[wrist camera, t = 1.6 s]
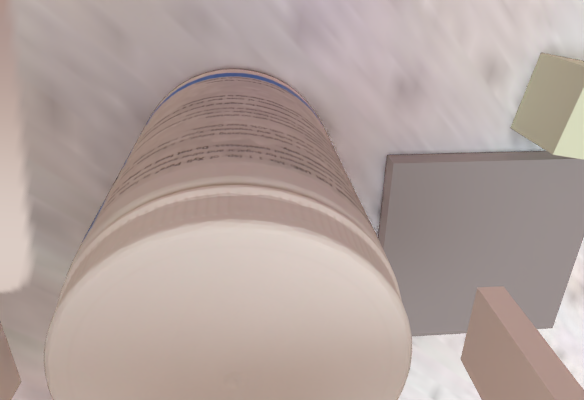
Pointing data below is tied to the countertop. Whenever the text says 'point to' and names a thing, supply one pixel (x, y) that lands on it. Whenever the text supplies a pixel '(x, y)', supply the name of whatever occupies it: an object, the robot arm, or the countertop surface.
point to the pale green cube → (554, 106)
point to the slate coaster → (481, 232)
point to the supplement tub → (230, 263)
